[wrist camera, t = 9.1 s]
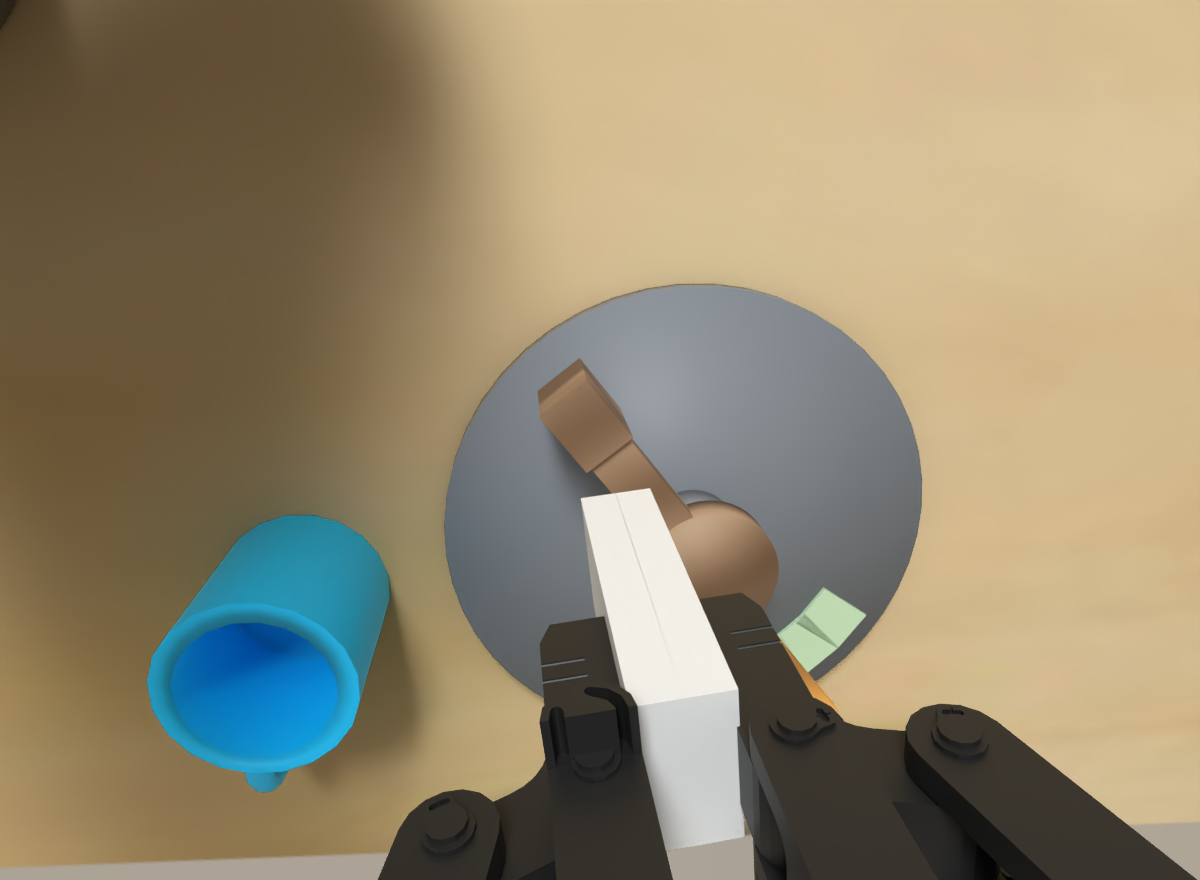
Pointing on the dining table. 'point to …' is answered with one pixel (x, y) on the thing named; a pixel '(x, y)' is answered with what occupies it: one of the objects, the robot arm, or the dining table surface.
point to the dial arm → (664, 497)
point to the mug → (273, 649)
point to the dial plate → (693, 465)
